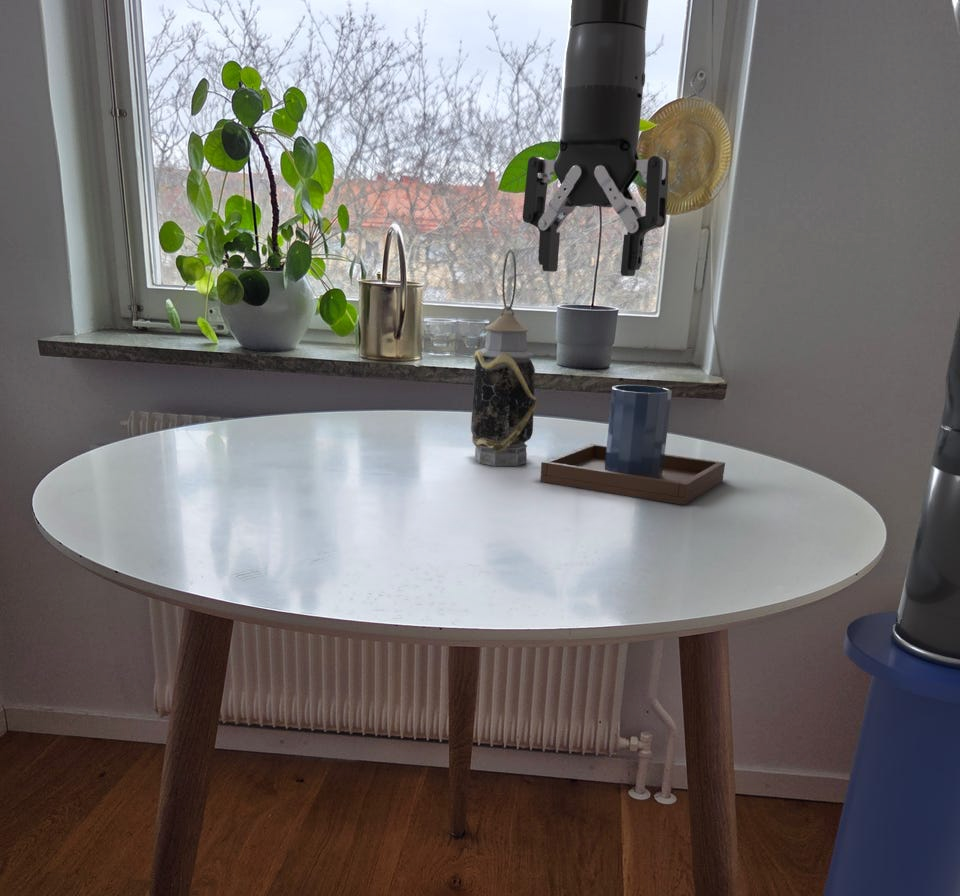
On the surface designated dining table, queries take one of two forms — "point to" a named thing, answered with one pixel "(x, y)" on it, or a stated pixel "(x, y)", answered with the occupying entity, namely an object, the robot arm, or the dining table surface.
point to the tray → (633, 476)
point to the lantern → (503, 391)
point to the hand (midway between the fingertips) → (588, 273)
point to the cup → (637, 430)
